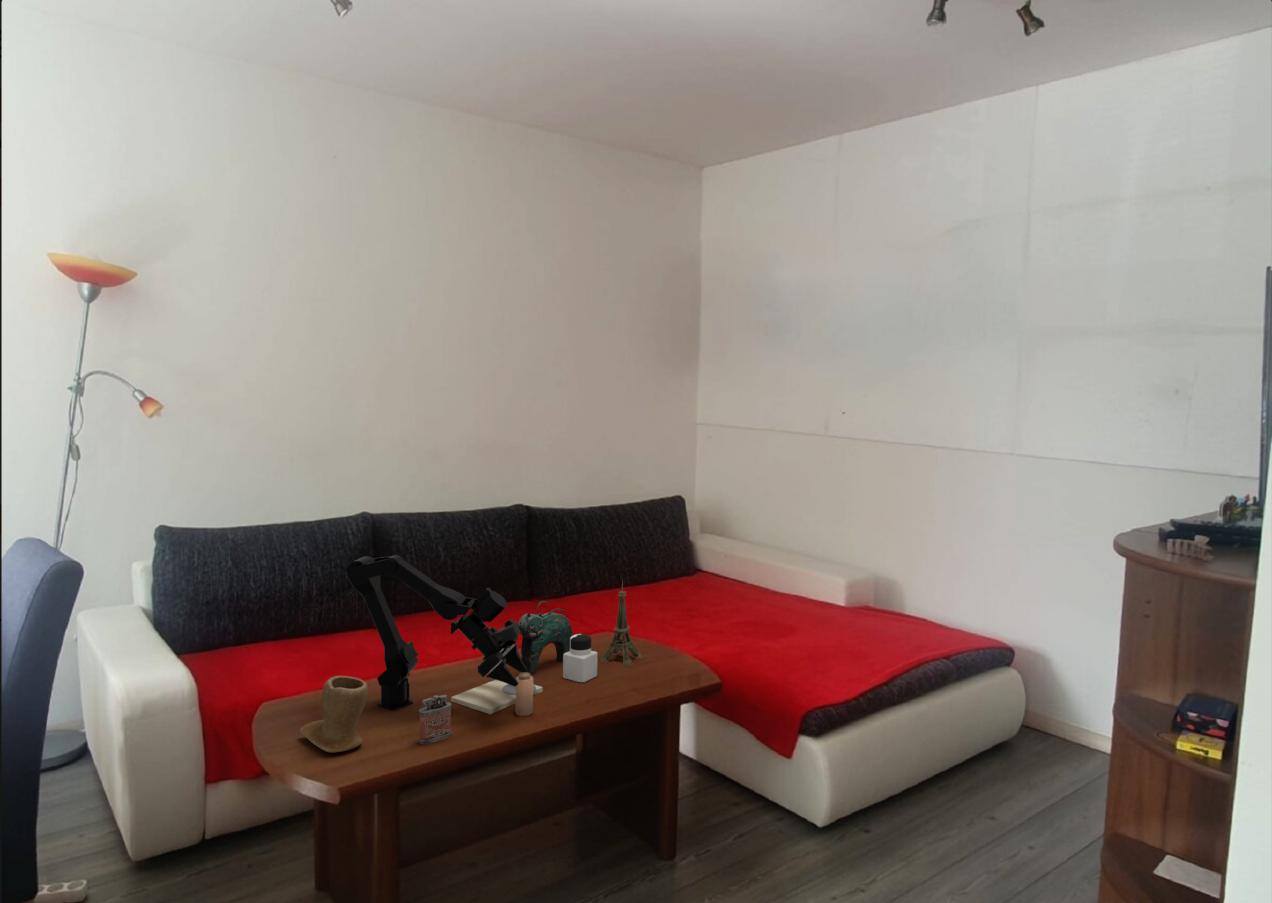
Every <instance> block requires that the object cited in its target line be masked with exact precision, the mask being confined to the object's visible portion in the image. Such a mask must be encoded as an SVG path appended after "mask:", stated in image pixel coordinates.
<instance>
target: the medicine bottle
mask: <svg viewBox="0 0 1272 903" xmlns="http://www.w3.org/2000/svg"><path fill="white" fill-rule="evenodd" d="M597 676H598V652H597V651H595V650H592V637H591V636H590V635H588V634H584V633H576V634H574V635H573V636H571V638H570V651H569V652H567V653H564V654H563V662H562V677H563V679H566V680H571V681H574V682H579V683H581V682H582V683H581V684H583V682H584V683H585V682H588V681H590V680H591V679H594V678H596V677H597Z"/></svg>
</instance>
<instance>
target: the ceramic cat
mask: <svg viewBox="0 0 1272 903" xmlns="http://www.w3.org/2000/svg"><path fill="white" fill-rule="evenodd" d="M542 603H544V604H545V605H546V606H547V605H548V603H547V601H546V600H545V601H544V600H542V601H540V602H539V603H537V606H536V614H534V613H533V614H532V613H530V612H528V613H525V614H523V615H522V616H521V617H520V618H519V619H518V624H519V625H520V626H519V630H520V632H521V634H520V635H521V636H522V638H521V639H522V640H521V646H520V647H521V648H520V654H521V659H522V661H523V663H524V665H525V667H526V669H527V672H528V673H530V675H532V674H536V673H537V670H538V666H539V665H538V664H539V659H540V657H541V654H542V652H543V650H544V649H545V648H546V647H547V646H549V645H551V644H553V645H554V647H555V652H556V660H557V661H558V660H559V662H561V661H563V654H564V653H567V652H569V651H570V638H571V636H573V634H574V633H573V629H572V625H571V623H570V620H569V618H568V617H567V616H568V615H567V612H566V611H565V609H561V608H554V609H552V610H550V611H549V612H547V613H546V612H545V613H544V612H541V613H539V606H540V605H541V604H542ZM554 611H561V612H563V613H564V614H562V613H561V614H560V613H556V612H554Z"/></svg>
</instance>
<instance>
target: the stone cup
mask: <svg viewBox="0 0 1272 903" xmlns="http://www.w3.org/2000/svg"><path fill="white" fill-rule="evenodd" d="M368 687H369V686H368V684H367V683H366V682H365V681H364V680H362V679H361V678H357V677H353V676H348V675H335V676H332V677H330V678H328V679H327V680H326V681H325V683H324V685H323V689H322V697H321V709H322V715H323V719H321V720H314V721H311V722H308V723H307V724H304V725H303V726H302V727H301V728H300V729H299V732H300V733H301V735H303V736H304V738H306V739H307V740H308V741H309V742H310V743H312V744H313V745H315V746H316V747H317V748H318V749H320V750H322V751H323V752H327V753H339V752H340V753H341V752H345V751H350V750H353V749H356V748H357V747H358V746H361V744H363V741H364V740H363V738H362V736H361V735H360V733H359V732H358V731H357V727H358V722H359V720H360V718H361V714H362V712H363V710H364V708H365V706H366V703H367V699H368V693H369V691H368V690H369V688H368Z"/></svg>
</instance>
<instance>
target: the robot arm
mask: <svg viewBox="0 0 1272 903" xmlns="http://www.w3.org/2000/svg"><path fill="white" fill-rule="evenodd" d="M387 574H390V575H392V576H394V577H395V578H396V579H398V580H399V581H400V582H402V583H403V584H404V585H405V586H407V587H409V588H410V589H412V590H413V591H414V592H416V593H417V594H419V595H420V596H421V597H422V598H424V599H426V601H427V602H429V604H430V606H431V607H432V609H433V611H435V612H436V614H438V615H439V617H440V618H442V619H444V620H445V621H451V622H450V632H449V633H450V634H451V635H453V634H454V633H456V632H457V631H460V633H461V634H462V635H463V636H464V637H465V638H466V639H467V640H468V641H469V642H470V643H471V644H472V646H471V649H472V650H478V652H479V653H480V654H481V655H482V656H483V658H482V660H483V661H482V662H481V663H479V665H478V666H477V673H478V674H479V675H480V676H481V677H482V678H484V677H485V678H490V679H494V680H499V681H502V682H504V683H507V684H510V685H512V686H517V685H518V682H517V680H516V677H515V676H514V675H513V673H512V672H511V671H510V670H509V668H508V666H509V667H511V668H513V669H514V670H516V671H518V672H519V673H522V672H527V669H526V667H525V665H524V663H523V661H522V659H521V658H522V656H520V654H519V645H520V643H519V642H518V641H519V640H520V639H519V636H520V635H521V632H520V630H519V626H520V625H519V623H518V622H517V621H514V620H513V619H512V618H510V619H507V620H506V621H505V622H504V626H502V627H501V628H499V629H497V628H496V627H493V626H491V627H489V625H488V624H486V622H487V623H491V622H493V621H494V620H495V619H497V617H498V616H499V615H501V613H502V612H503V611H504V610H506V608H508V603H507V601H506V599H505V598H504V596H502V595H501V594H499V593H498V592H497V591H494V590H492V589H491V588H490V587H487V588H486V589H485V590H484V591H483V592H482V593H481V595H480V596H478V598H473V597H468V596H467V597H466V596H465V595H464V594H462V593H461V592H459V591H456V590H454V589H452V588H449V587H446V586H443V585H440V584H438V583H437V582H436V581H434V580H432V579H431V578H430V577H428V576H427V575H425V574H424V573H423V572H422V571H420V570H418V569H417V568H416V567H414V566H413V565H411V564H410V563H409V562H407V561H406V560H405V559H404V558H402V556H400V555H398V554H394V555H392V556H391V555H390V556H382V557H381V556H380V557H375V558H373V557H371V556H367V555H366V556H362V557H359V558H358V559H356V560H353V561H352V562H349V564H348V566H347V567H346V569H345V575H346V578H347V579H348V581H349V582H350V584H351V586H352V588H354V590H356V591H357V592H358V593H359V594H360V595H361V596H362V597H363V600H364V603H365V605H366V607H367V609H368V612H369V614H370V617H371V619H372V621H373V623H374V626H375V628H376V631H377V634H378V635H379V638H380V640H381V642H382V646H383V647H384V649H383V651H384V652H383V653H384V654H383V659H384V660H383V661H384V665H385V670H384V671H383V672H382V673H381V674H380V675H379V676H377V678H376V679H377V682H378V684H379V685H378V686H380V701H377V702H376V705H377V706H380V707H381V708H382V707H383V708H385V709H388V710H391V711H395V710H398V709H400V708H403V707H405V706H408V705H412V704H413V700H411V699H410V683H409V678H408V677H409V676H410V675H411V672H412V671H414V670H415V668H416V667H417V665H418V663H419V662H418V661H419V660H418V656H419V653H417V651H416V649H415V645H414V644H415V643H414V642H413V641H412V640H411V641H410V642H406V641H405V640H404V639H403V638H402V636H401V634H400V631H399V629H398V626H397V624H396V621H395V619H394V616H393V614H392V612H391V609H390V607H389V605H388V602H387V600H386V597H385V595H384V593H383V591H382V588H381V576H382V575H387ZM471 610H473V611H472V612H471V613H470V614H467V613H469V612H470V611H471ZM459 616H461V617H460V618H459V619H458V620H455V619H457V618H458V617H459ZM452 620H453V621H452ZM507 665H508V666H507Z"/></svg>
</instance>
